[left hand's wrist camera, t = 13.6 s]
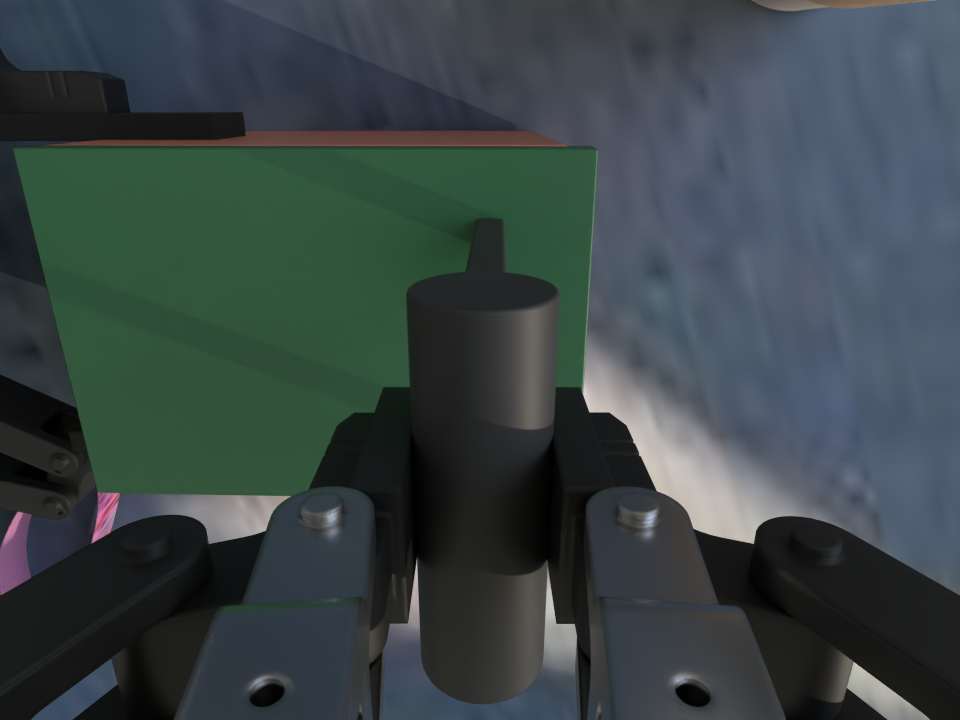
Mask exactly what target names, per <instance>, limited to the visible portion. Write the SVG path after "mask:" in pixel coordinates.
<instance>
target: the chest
mask: <svg viewBox="0 0 960 720" xmlns="http://www.w3.org/2000/svg"><path fill="white" fill-rule="evenodd" d="M245 135H246V136H242V137H234V138H227V139H219V140H95V141H84V142H73V143H62V144H51V145H169V146H566V145H564V144H562V143H560V142H557V141H555V140H553V139H550V138H548V137H546V136H543V135H541V134H539V133H536V132H534V131H245Z"/></svg>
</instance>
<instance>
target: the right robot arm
mask: <svg viewBox="0 0 960 720" xmlns="http://www.w3.org/2000/svg"><path fill="white" fill-rule="evenodd" d="M242 136H246V135H245V127H244V119H243V112H203V113H130V109H129V103H128V98H127V92H126V87H125V81H124V80H123V79H120V78H118V77H115V76H113V75H110V74H108V73H99V72H87V71H21V70H19V69H17V68H16V67H14V66H13V65H12V64H11V63H10V62H9V61H8V60H7V59H6V57H5V56H4V54H3V53H2V51H1V49H0V141H95V140H219V139H227V138H234V137H242ZM95 487H96V484H95V480H94V476H93V472H92V468H91V464H90V460H89V456H88V452H87V448H86V443H85V439H84V435H83V431H82V427H81V423H80V419H79V415H78V411H77V408H75V407H73V406H70V405H68V404H66V403H64V402H61V401H59V400H57V399H54V398H52V397H50V396H48V395H45V394H43V393H41V392H38V391H36V390H34V389H32V388H29V387H27V386H25V385H22V384H20V383H18V382H16V381H13V380H11V379H9V378H6V377H4V376H2V375H0V508H2V509H7V510H12V511H17V512H21V513H26V514H31V515H36V516H41V517H45V518H50V519H62V518H65V517H66V516H67V515H68V514H69V513H70V512H71V511H72V510H73V509H74V508H75V507H76V506H77V505H78V504H79V503H80V502H81V501H82V500H83V499H84V498H85V497H86V496H87V495H88V494H89V493H90V492H91V491H92V490H93V489H94V488H95Z"/></svg>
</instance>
